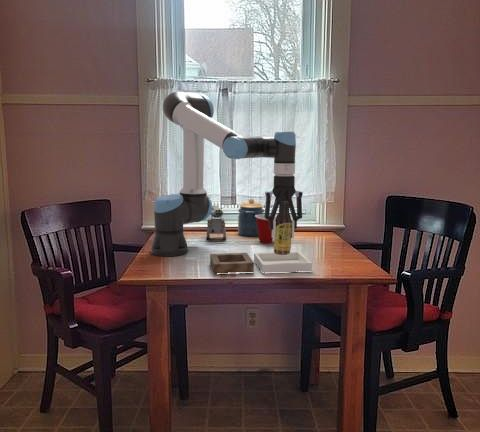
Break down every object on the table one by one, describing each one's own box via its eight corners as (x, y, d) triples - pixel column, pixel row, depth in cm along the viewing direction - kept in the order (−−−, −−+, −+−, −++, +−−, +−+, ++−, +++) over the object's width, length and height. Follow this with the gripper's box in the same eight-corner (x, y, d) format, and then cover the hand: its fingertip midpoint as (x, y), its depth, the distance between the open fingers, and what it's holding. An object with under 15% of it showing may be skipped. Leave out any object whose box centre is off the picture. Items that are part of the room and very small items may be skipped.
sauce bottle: (278, 256, 165) (279, 201, 161) (270, 252, 170) (271, 199, 167) (294, 254, 167) (295, 200, 164) (286, 250, 173) (287, 198, 169)
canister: (256, 238, 216) (257, 201, 213) (232, 234, 223) (233, 199, 219) (268, 233, 228) (269, 197, 224) (245, 230, 234) (246, 195, 231)
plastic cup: (279, 244, 204) (280, 218, 202) (255, 244, 204) (256, 218, 201) (276, 238, 215) (276, 213, 213) (253, 239, 214) (253, 213, 212)
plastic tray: (262, 274, 161) (262, 264, 160) (253, 261, 176) (254, 253, 176) (311, 272, 164) (312, 262, 163) (298, 260, 179) (299, 251, 179)
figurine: (226, 236, 220) (226, 205, 217) (225, 241, 209) (225, 209, 206) (207, 235, 220) (207, 204, 218) (205, 241, 209) (205, 208, 206)
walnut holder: (214, 275, 159) (214, 264, 158) (210, 264, 173) (210, 253, 172) (253, 273, 161) (253, 262, 161) (246, 262, 175) (246, 252, 174)
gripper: (260, 176, 159) (259, 240, 163) (313, 175, 162) (311, 239, 166) (255, 174, 166) (255, 236, 170) (306, 173, 169) (304, 234, 173)
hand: (282, 237), depth 168 cm, fingers closed on sauce bottle, 6 cm apart
